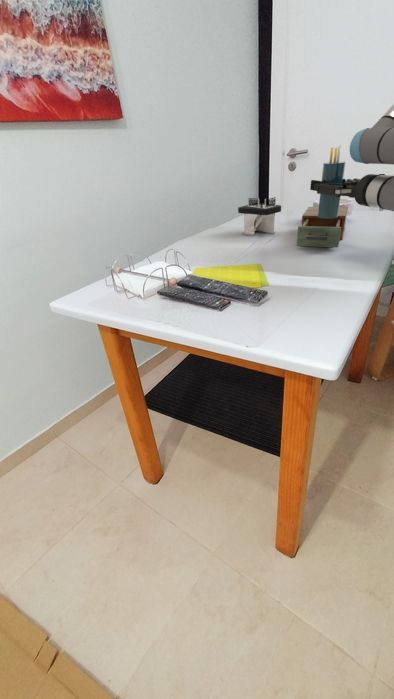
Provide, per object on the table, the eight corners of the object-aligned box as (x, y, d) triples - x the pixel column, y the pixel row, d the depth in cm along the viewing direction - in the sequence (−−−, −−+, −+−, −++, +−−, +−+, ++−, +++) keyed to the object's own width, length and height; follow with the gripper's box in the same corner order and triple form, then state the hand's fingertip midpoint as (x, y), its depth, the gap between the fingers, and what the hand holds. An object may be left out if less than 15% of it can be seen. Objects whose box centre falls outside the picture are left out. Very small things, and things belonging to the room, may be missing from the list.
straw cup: (338, 214, 107) (348, 144, 97) (337, 218, 102) (347, 145, 92) (318, 214, 109) (326, 146, 99) (316, 218, 104) (324, 147, 94)
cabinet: (342, 240, 114) (345, 215, 110) (300, 238, 119) (302, 215, 115) (344, 228, 126) (348, 206, 122) (306, 228, 131) (308, 206, 127)
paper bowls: (351, 225, 129) (354, 203, 125) (309, 225, 134) (311, 204, 130) (351, 217, 141) (354, 196, 136) (312, 217, 146) (315, 197, 141)
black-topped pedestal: (209, 236, 132) (208, 200, 125) (255, 223, 146) (256, 190, 138) (264, 249, 113) (265, 206, 106) (311, 232, 126) (315, 194, 119)
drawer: (337, 251, 101) (340, 231, 98) (294, 249, 106) (295, 230, 103) (341, 235, 115) (343, 217, 112) (303, 234, 120) (304, 217, 117)
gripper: (342, 211, 86) (293, 200, 105) (402, 202, 90) (344, 193, 109) (347, 179, 82) (295, 173, 101) (409, 170, 86) (348, 166, 105)
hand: (321, 183), depth 105 cm, fingers closed on straw cup, 6 cm apart
